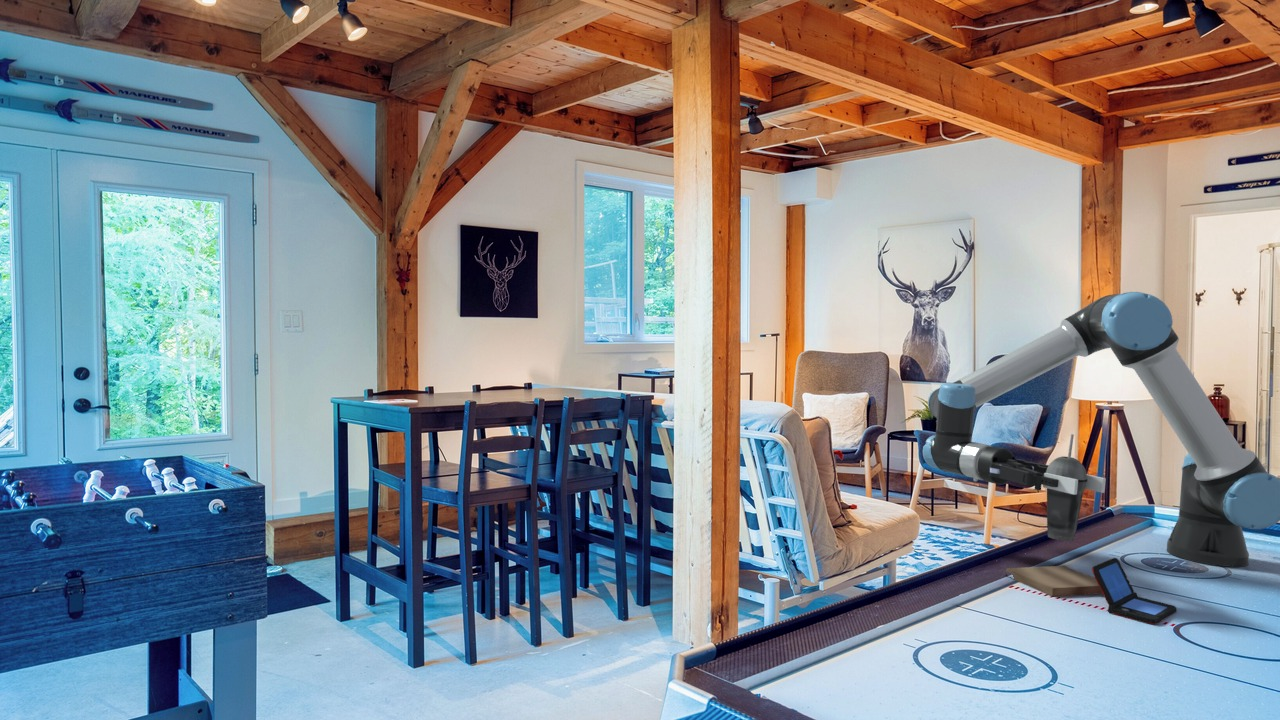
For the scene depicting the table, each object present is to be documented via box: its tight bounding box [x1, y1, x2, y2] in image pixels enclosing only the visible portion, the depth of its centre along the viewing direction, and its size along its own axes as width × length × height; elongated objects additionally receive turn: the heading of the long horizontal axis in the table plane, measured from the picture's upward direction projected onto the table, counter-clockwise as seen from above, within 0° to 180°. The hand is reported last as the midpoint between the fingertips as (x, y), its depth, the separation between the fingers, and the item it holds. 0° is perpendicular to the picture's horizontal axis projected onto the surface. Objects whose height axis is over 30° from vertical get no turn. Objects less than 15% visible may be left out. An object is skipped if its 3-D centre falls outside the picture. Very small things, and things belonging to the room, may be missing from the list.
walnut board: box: [1005, 565, 1103, 597], centre depth 161 cm, size 14×12×2 cm
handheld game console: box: [1091, 557, 1177, 625], centre depth 148 cm, size 12×11×7 cm
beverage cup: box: [1046, 433, 1087, 542], centre depth 160 cm, size 7×7×20 cm
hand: (1090, 486), depth 155 cm, fingers closed on beverage cup, 7 cm apart
